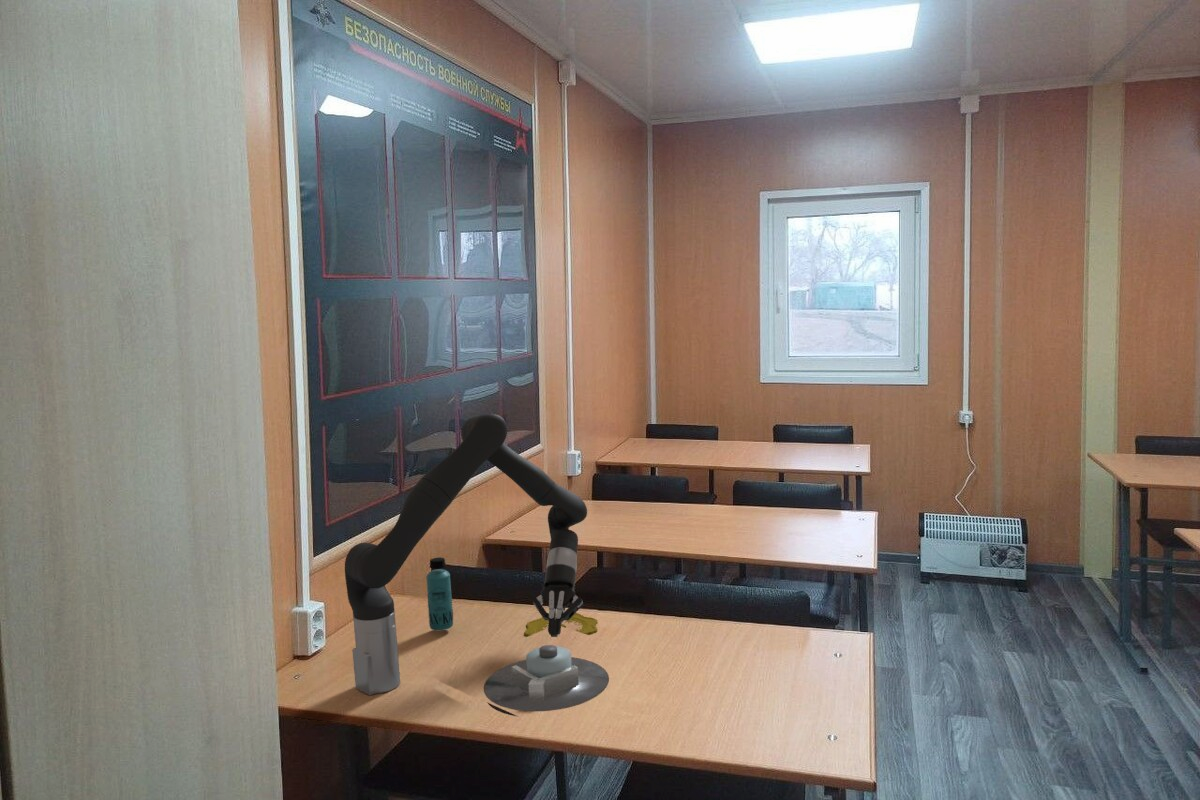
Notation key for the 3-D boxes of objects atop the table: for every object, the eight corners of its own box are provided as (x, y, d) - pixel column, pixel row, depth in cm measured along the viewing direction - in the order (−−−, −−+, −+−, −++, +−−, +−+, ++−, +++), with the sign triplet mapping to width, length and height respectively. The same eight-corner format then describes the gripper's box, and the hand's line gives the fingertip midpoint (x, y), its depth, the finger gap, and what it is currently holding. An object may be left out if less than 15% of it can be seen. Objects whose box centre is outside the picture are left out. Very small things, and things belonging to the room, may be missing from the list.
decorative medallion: (598, 614, 244) (598, 609, 244) (597, 642, 225) (597, 636, 224) (527, 617, 244) (527, 612, 244) (520, 645, 225) (520, 640, 225)
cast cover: (550, 694, 192) (548, 661, 191) (518, 683, 199) (516, 651, 198) (581, 678, 199) (579, 646, 199) (549, 667, 206) (547, 636, 205)
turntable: (502, 661, 214) (500, 639, 214) (616, 662, 210) (615, 640, 210) (468, 716, 187) (466, 691, 186) (599, 719, 183) (598, 693, 182)
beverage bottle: (427, 630, 238) (421, 557, 236) (451, 625, 241) (445, 553, 238) (433, 638, 232) (427, 564, 230) (457, 632, 235) (452, 559, 232)
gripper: (532, 562, 219) (523, 628, 209) (585, 562, 217) (578, 629, 207) (538, 576, 225) (529, 641, 214) (589, 577, 223) (583, 642, 212)
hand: (553, 635), depth 210 cm, fingers closed
